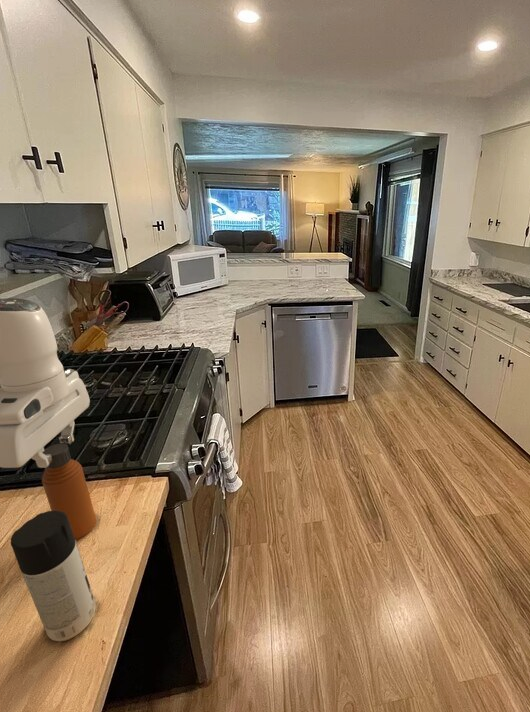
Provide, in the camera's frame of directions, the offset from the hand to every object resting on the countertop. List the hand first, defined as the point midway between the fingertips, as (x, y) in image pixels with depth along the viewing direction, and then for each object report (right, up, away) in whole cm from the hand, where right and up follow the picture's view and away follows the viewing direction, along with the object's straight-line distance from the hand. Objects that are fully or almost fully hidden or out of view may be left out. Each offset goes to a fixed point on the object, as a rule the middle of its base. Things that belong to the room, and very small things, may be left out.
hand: (57, 453), depth 68 cm
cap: (0, -2, +1) cm, 2 cm away
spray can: (+10, -24, -10) cm, 28 cm away
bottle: (0, -17, +6) cm, 19 cm away
